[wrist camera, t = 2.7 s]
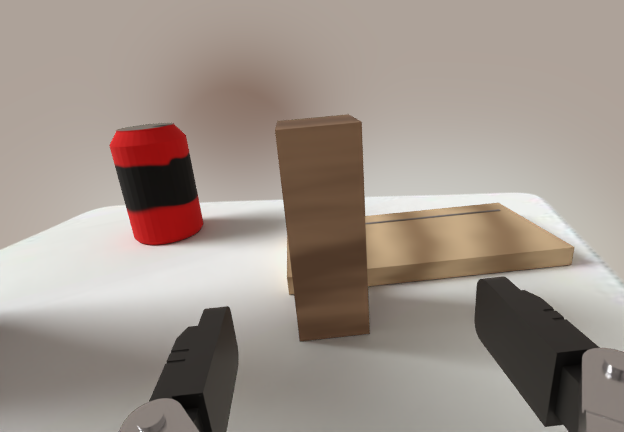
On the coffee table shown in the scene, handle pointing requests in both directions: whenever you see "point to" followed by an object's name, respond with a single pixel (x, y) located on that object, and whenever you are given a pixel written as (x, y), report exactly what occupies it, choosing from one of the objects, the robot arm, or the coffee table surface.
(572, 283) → the coffee table surface
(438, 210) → the board
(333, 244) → the block
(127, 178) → the soda can
